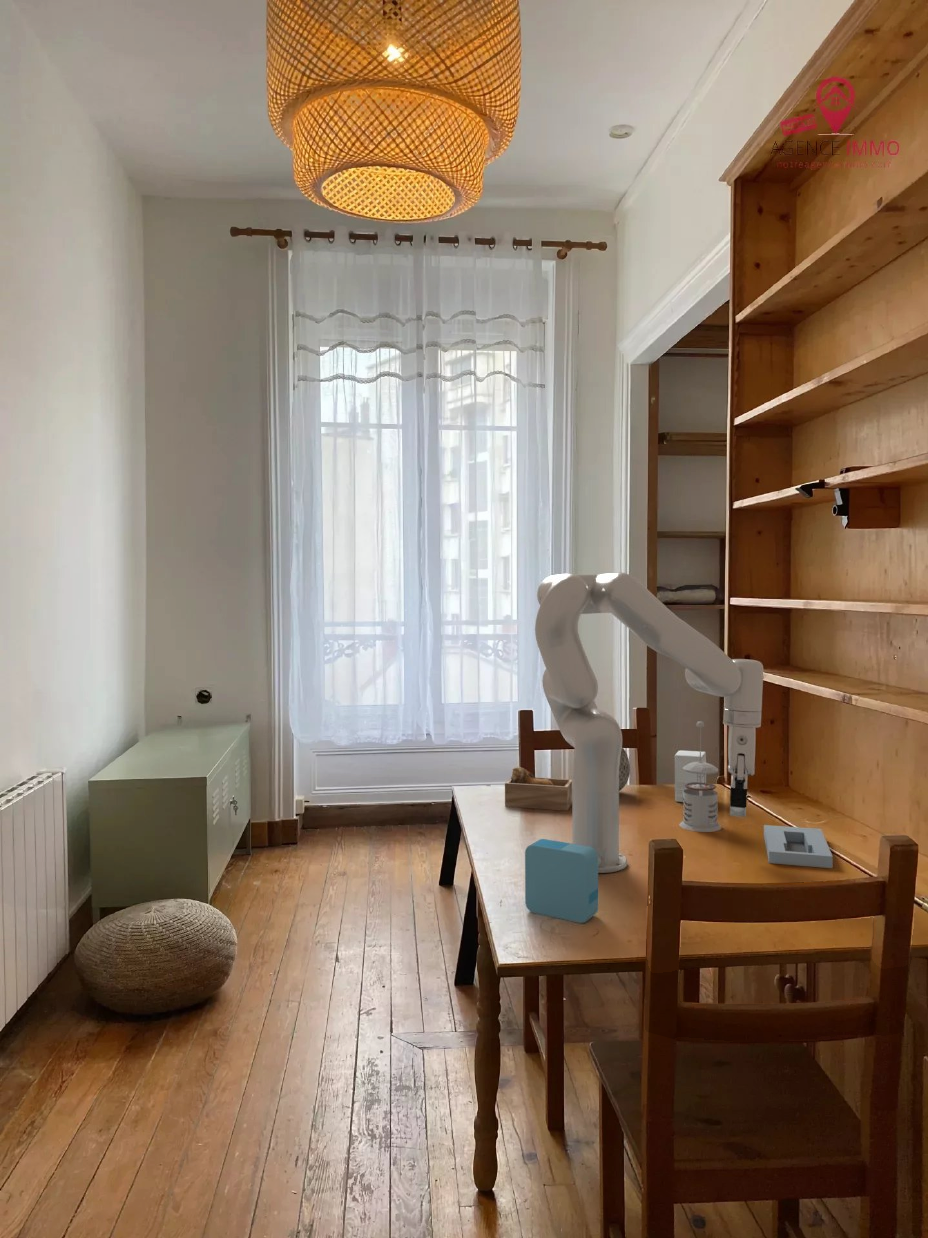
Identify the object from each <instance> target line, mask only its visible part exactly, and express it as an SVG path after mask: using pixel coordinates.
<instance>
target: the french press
mask: <svg viewBox="0 0 928 1238" xmlns="http://www.w3.org/2000/svg"><path fill="white" fill-rule="evenodd" d="M695 725H696V727H698V728H699V752H700V761H698V762H692V763H689V764H688V765H686V766H684V767H683V769H684V770H685V771H686V772H689V773H694V774H697V782H694V783H693V782H689V783H686V784H685V786H686V788H688V789H686V790H684V791H683V797H684V798H683V802H682V803H683V805H682V813H683V814H682V817H683V818H682V821H681V822H680V823H679V824H678V825H679V827H680V828H682V829H684V830H687V831H692V832H698V833H699V832H700V833H711V832H718V831H720V830H722V829H723V827H722V825H721V824H720V823H719V821H718V819H719V817H718V815H719V811H718V810H719V809H718V808H719V806H718V805H719V804H718V802H719V801H718V799H719V795H718V791H716V790H715V789H716V788H717V786H716V785H715V784H713V783H709V782H706V783H705V774H706V775H713V774H717V773H718V772H719V769H718V767H716V766H715V765H714V764H711V763H708V762H706V763H705V762H702V761H701V752H702V728H703V727H705V723H704V721H702V720H701V721H697V722H696V724H695ZM698 774H700V776H698ZM701 774H704V775H703V776H701ZM698 777H700V782H699V783H698ZM701 777H704V783H701ZM699 791H702V796H699ZM684 800H685V802H684Z"/></svg>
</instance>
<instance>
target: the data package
mask: <svg viewBox="0 0 928 1238" xmlns="http://www.w3.org/2000/svg"><path fill="white" fill-rule="evenodd" d="M524 876H525V877H524V880H525V881H524V882H525V883H524V885H525V888H524V889H525V890H524V891H525V892H524V893H525V897H524V900H525V901H524V902H525V906H526V908H527V910H528V911H529V912H531V913H533V914H537V915H541V916H546V917H550V918H555V919H560V920H564V921H568V922H573V923H578V924H585V923H586V922H588V921H589V920H590V919H591V918H592V917H593V916H595V915H596V913H597V912H598V910H599V873H598V854H597V852H596V850H595V849H594V848H592V847H589V846H583V845H577V844H572V843H570V842H564V841H558V840H554V839H553V840H552V839H545V838H541V839H540V838H539V839H538V840H537V841H535V842H533V843H531V844H530V845H527V847H526V848H525V851H524Z"/></svg>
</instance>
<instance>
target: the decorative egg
mask: <svg viewBox="0 0 928 1238" xmlns="http://www.w3.org/2000/svg"><path fill="white" fill-rule="evenodd" d="M630 772H631V767H630V760H629V757H628V754H627V752H626V750H625V749H624V747H623V746H622V750H621V756H620V765H619V792H620V791H621V790H622V789H623V788H625V786H626V784H628V782H629V777H630V774H631V773H630Z"/></svg>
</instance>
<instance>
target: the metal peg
mask: <svg viewBox="0 0 928 1238" xmlns="http://www.w3.org/2000/svg"><path fill="white" fill-rule="evenodd" d="M735 766H736V765H735ZM727 773H730V774H731V778H730V781H731V782H730V788H731V787H732V783H733V773H731V772H730V768H729V764H728V765H727ZM735 773H737V770H735ZM744 774H745V771H744ZM749 775H750V776H752V775H751V773H748V770H747V778H749V777H748V776H749ZM736 777H737V776H735V778H736ZM743 778H744V777H743ZM746 789H747V790H748V781H747V782H746ZM730 798H731V796H730V795H729V799H730ZM746 813H747V807H746V808H738V807H731V806H730V805H729V815H730V816H732V817H736V818H745V817H746Z"/></svg>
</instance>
